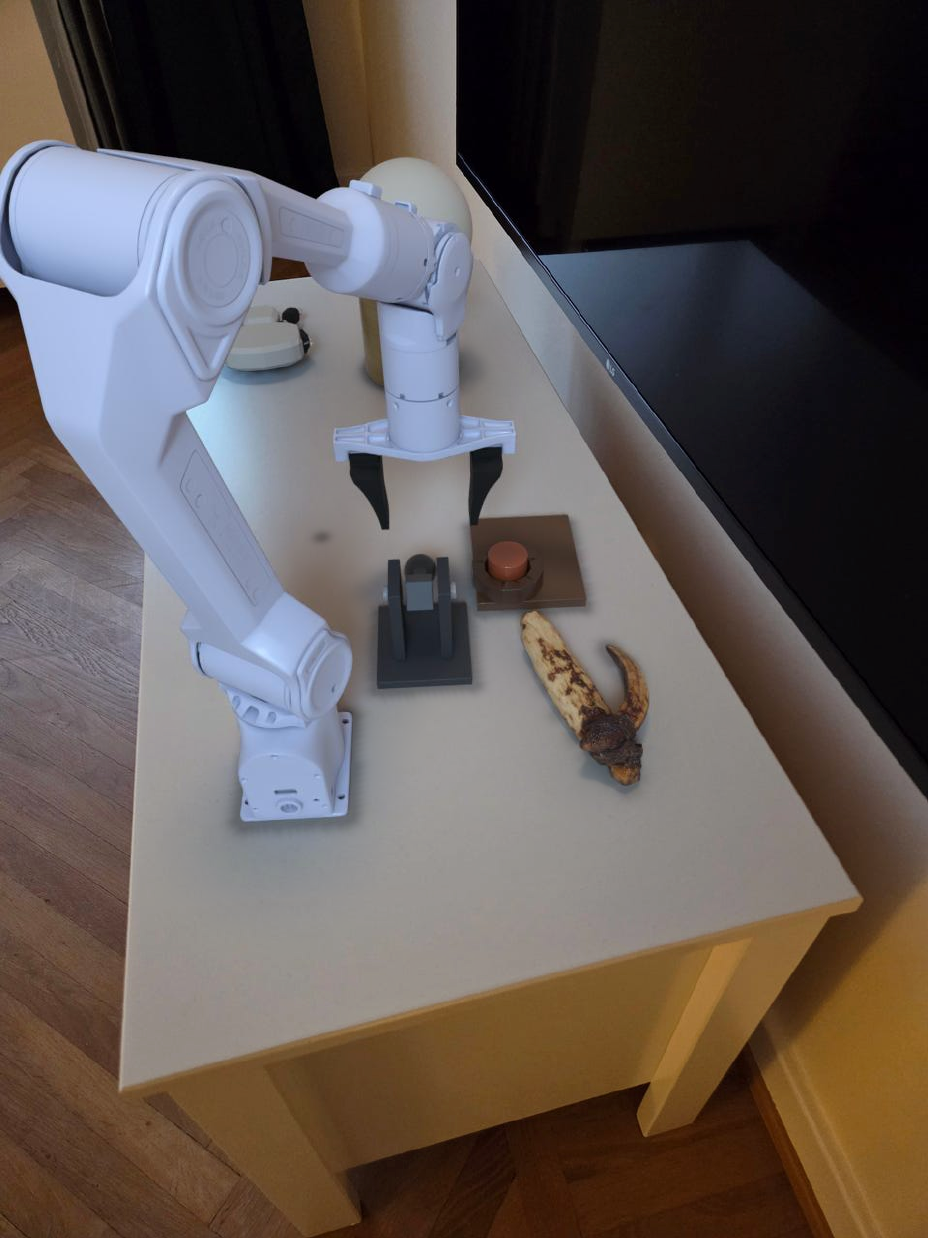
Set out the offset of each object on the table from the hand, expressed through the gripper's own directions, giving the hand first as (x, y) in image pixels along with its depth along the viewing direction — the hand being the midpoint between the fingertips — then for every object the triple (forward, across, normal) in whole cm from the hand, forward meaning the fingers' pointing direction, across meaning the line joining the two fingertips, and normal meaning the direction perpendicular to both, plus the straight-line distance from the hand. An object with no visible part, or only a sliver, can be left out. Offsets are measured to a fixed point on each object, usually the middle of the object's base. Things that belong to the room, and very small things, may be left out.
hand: (429, 520), depth 73 cm
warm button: (+6, -7, +1) cm, 9 cm away
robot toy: (+6, +20, -45) cm, 50 cm away
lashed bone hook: (+8, -13, +14) cm, 21 cm away
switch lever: (+4, +1, +5) cm, 7 cm away
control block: (+8, -9, -2) cm, 12 cm away
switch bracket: (+8, +1, +8) cm, 11 cm away
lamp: (+8, +1, -38) cm, 39 cm away
